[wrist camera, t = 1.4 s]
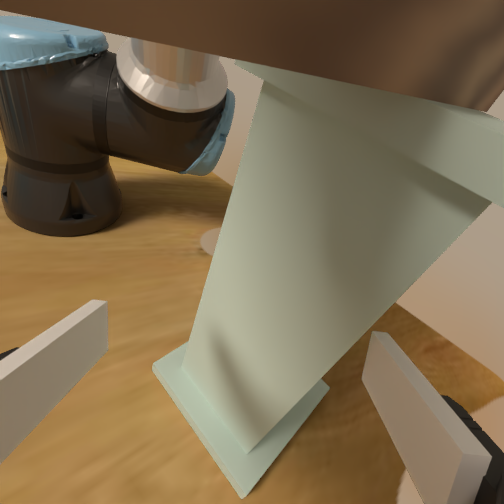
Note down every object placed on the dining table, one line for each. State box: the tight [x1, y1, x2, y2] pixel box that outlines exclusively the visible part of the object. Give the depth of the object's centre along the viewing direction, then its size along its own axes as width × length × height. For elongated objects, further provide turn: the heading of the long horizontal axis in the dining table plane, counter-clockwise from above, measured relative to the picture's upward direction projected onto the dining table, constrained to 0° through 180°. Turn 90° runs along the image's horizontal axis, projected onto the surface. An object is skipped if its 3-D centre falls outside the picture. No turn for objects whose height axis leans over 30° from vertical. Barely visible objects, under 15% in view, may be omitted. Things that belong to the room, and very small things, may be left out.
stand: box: [152, 59, 504, 499], centre depth 22 cm, size 14×14×30 cm
